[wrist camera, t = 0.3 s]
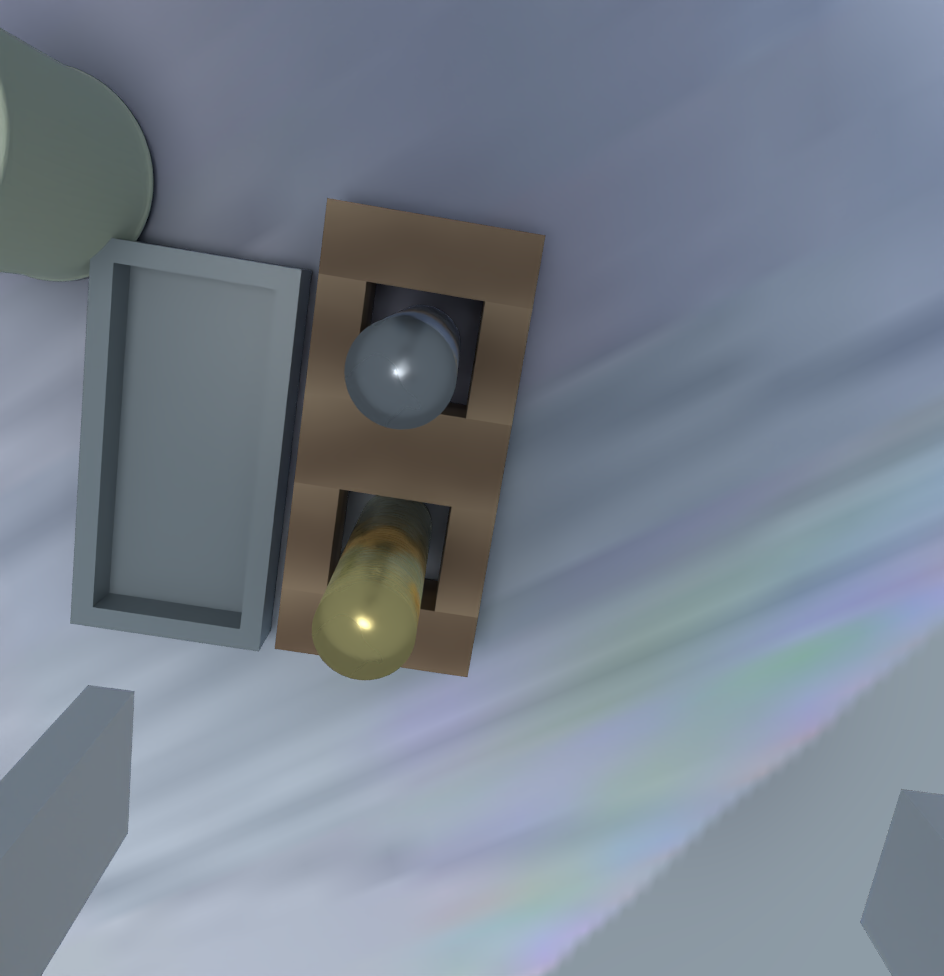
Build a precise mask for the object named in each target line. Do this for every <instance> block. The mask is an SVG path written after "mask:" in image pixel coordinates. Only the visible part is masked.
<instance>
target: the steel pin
mask: <svg viewBox="0 0 944 976" xmlns="http://www.w3.org/2000/svg"><path fill="white" fill-rule="evenodd" d="M460 347H461V341H460V335H459V332H458V329H457V327H456V325H455V323H454V322H453V320H452V319H451V318H450V317H449V316H448V315H447V314H446V313H444V312H443V311H441V310H440V309H438V308H435V307H432V306H428V305H416V306H412V307H408V308H406V309H404V310H402V311H399V312H397V313H395V314H393V315H391V316H388V317H386V318H384V319H382V320H380V321H378V322H375V323H373V324H372V325H370V326H368V327H367V328H366V329H364V330H363V331H362V332H361V333H360V334H359V335H358V336H357V338H356V339H355V340H354V342H353V343H352V345H351V347H350V349H349V351H348V354H347V357H346V362H345V371H344V374H345V383H346V387H347V390H348V393H349V395H350V398H351V400H352V401H353V403H354V404H355V406H356V407H357V408H358V410H359V411H360V412H361V413H362V414H363V415H364V416H366V417H367V418H368V419H370V420H371V421H373V422H374V423H376V424H378V425H381V426H384V427H387V428H391V429H399V430H403V429H412V428H417V427H420V426H423V425H425V424H427V423H429V422H430V421H432V420H434V419H435V418H436V417H437V416H439V415H440V414H441V413H442V412H443V410H444V409H445V408H446V407H447V405H448V404H449V402H450V400H451V398H452V396H453V393H454V390H455V386H456V380H457V372H458V364H459V356H460Z"/></svg>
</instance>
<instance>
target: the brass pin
mask: <svg viewBox="0 0 944 976" xmlns="http://www.w3.org/2000/svg"><path fill="white" fill-rule="evenodd" d="M431 531H432V522H431V517H430V514H429V512H428V510H427V508H426V507H425V505H424V504H423V503H422V502H418V501H412V500H405V499H399V498H392V497H386V496H380V495H376V496H375V497H373V498H372V499H371V500H370V501H369V502H368V503H367V504H366V505H365V507H364V508H363V510H362V512H361V514H360V517H359V519H358V521H357V523H356V525H355V527H354V530H353V532H352V534H351V536H350V538H349V540H348V543H347V545H346V547H345V549H344V551H343V554H342V556H341V558H340V560H339V562H338V564H337V567H336V569H335V571H334V573H333V575H332V577H331V580H330V582H329V584H328V586H327V588H326V590H325V593H324V595H323V597H322V599H321V601H320V603H319V606H318V608H317V610H316V612H315V615H314V618H313V622H312V638H313V643H314V646H315V648H316V650H317V652H318V654H319V656H320V657H321V659H322V660H323V661H324V662H325V663H326V664H327V665H328V666H329V667H330V668H331V669H333V670H334V671H336V672H337V673H339V674H341V675H343V676H346V677H349V678H352V679H357V680H373V679H378V678H382V677H385V676H387V675H390V674H391V673H393V672H395V671H396V670H397V669H399V668H400V667H401V666H402V665H403V664H404V663H405V662H406V661H407V659H408V658H409V656H410V654H411V653H412V650H413V648H414V644H415V640H416V633H417V627H418V620H419V613H420V606H421V599H422V593H423V586H424V579H425V572H426V565H427V559H428V552H429V545H430V538H431Z"/></svg>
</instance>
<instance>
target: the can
mask: <svg viewBox="0 0 944 976" xmlns="http://www.w3.org/2000/svg"><path fill="white" fill-rule="evenodd" d="M152 197H153V168H152V162H151V156H150V152H149V149H148V146H147V143H146V140H145V137H144V135H143V133H142V131H141V129H140V127H139V125H138V123H137V121H136V119H135V118H134V116H133V115H132V113H131V112H130V110H129V109H128V108H127V106H126V105H125V104H124V103H123V102H122V100H121V99H120V98H119V97H118V96H117V95H116V94H115V93H114V92H113V91H111V90H110V89H109V88H108V87H107V86H105V85H104V84H103V83H102V82H100V81H99V80H97V79H96V78H94V77H92V76H90V75H89V74H87V73H85V72H83V71H80V70H78V69H76V68H73V67H69V66H66V65H63V64H62V63H60V62H58V61H56V60H55V59H53V58H51V57H49V56H48V55H46V54H44V53H42V52H41V51H39V50H37V49H35V48H34V47H32V46H30V45H28V44H27V43H25V42H23V41H21V40H20V39H18V38H16V37H15V36H13V35H11V34H10V33H8V32H6V31H5V30H3V29H1V28H0V272H5V273H15V274H23V275H26V276H29V277H32V278H36V279H41V280H47V281H72V280H78V279H83V278H87V277H89V269H90V259H91V258H92V257H93V256H95V255H96V254H97V253H98V252H99V251H100V250H101V249H102V248H103V247H104V246H105V245H106V244H107V243H108V241H109V240H110V239H111V238H115V239H123V240H131V241H136V240H137V239H138V237H139V235H140V234H141V232H142V230H143V228H144V226H145V223H146V221H147V218H148V215H149V212H150V208H151V202H152Z"/></svg>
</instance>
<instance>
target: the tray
mask: <svg viewBox="0 0 944 976" xmlns="http://www.w3.org/2000/svg"><path fill="white" fill-rule="evenodd" d="M311 274H312V270H306V269H300V268H294V267H288V266H282V265H276V264H270V263H264V262H258V261H253V260H247V259H241V258H235V257H229V256H223V255H217V254H211V253H205V252H199V251H193V250H187V249H181V248H175V247H169V246H163V245H157V244H151V243H145V242H139V241H131V240H123V239H115V238H111V239H110V240H109V241H108V243H107V244H106V245H105V246H104V247H103V248H102V249H101V250H100V251H99V252H98V253H97V254H96V255H95V256H93V257H92V258H91V259H90V269H89V287H88V306H87V324H86V343H85V361H84V380H83V398H82V417H81V435H80V454H79V472H78V491H77V509H76V528H75V546H74V565H73V583H72V602H71V620H70V623H71V624H77V625H84V626H91V627H98V628H104V629H111V630H118V631H125V632H131V633H138V634H145V635H152V636H158V637H165V638H172V639H179V640H185V641H192V642H199V643H206V644H212V645H219V646H226V647H233V648H239V649H246V650H253V651H259V650H260V648H261V647H262V645H263V643H264V641H265V640H266V638H267V636H268V634H269V632H270V631H271V623H272V614H273V605H274V597H275V588H276V579H277V570H278V562H279V553H280V544H281V536H282V527H283V518H284V509H285V501H286V492H287V483H288V474H289V466H290V457H291V448H292V440H293V431H294V422H295V413H296V405H297V396H298V387H299V379H300V370H301V361H302V352H303V344H304V335H305V326H306V317H307V309H308V300H309V291H310V283H311Z"/></svg>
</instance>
